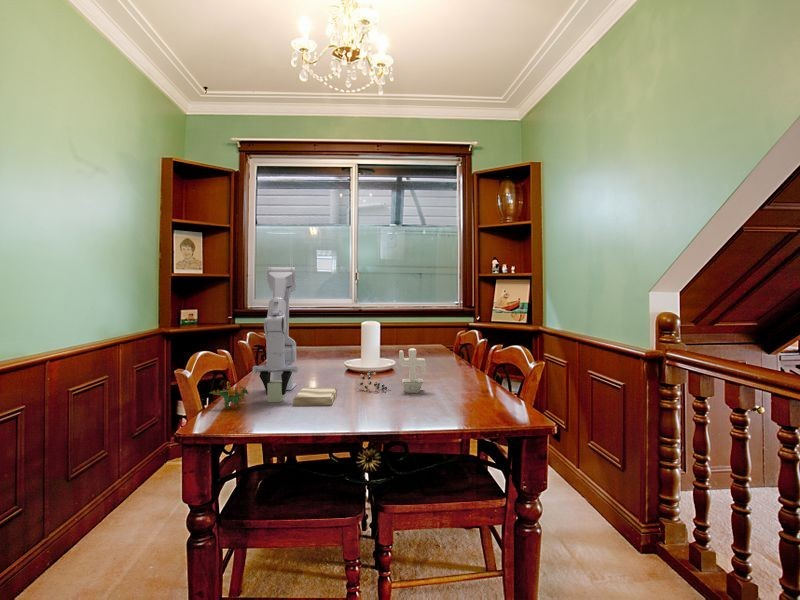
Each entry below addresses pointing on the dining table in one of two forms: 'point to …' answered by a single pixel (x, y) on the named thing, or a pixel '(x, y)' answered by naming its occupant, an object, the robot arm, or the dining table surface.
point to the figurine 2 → (412, 370)
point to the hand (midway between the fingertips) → (276, 394)
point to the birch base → (315, 396)
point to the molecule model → (371, 383)
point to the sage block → (275, 391)
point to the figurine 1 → (231, 395)
